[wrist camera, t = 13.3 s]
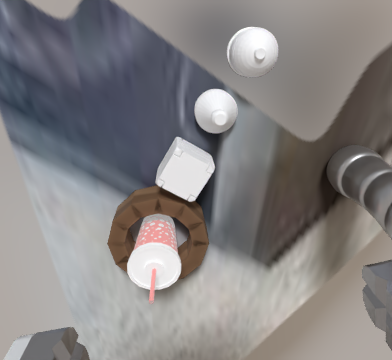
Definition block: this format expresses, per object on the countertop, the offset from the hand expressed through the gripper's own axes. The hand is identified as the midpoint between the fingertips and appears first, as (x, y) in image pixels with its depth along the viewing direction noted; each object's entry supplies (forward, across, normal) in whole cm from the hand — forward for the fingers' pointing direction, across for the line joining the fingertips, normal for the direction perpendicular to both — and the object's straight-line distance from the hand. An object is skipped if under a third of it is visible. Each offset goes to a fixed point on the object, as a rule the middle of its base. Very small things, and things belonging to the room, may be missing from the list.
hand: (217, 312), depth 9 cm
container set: (+32, -2, +1) cm, 32 cm away
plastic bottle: (+32, -18, +13) cm, 39 cm away
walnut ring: (+31, +8, +15) cm, 35 cm away
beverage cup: (+31, +9, +15) cm, 36 cm away
